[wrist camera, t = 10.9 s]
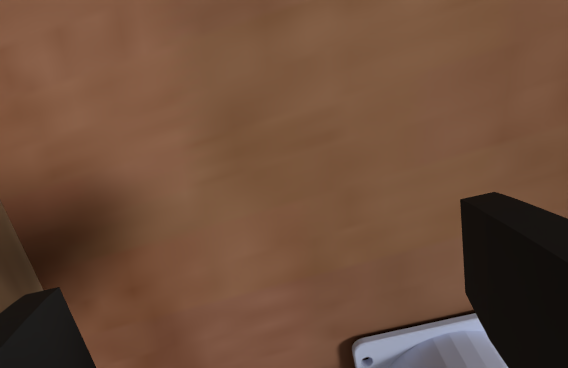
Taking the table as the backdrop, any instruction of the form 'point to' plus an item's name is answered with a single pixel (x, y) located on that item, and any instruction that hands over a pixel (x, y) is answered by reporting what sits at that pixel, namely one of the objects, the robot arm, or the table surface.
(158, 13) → the table surface
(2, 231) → the walnut rail
